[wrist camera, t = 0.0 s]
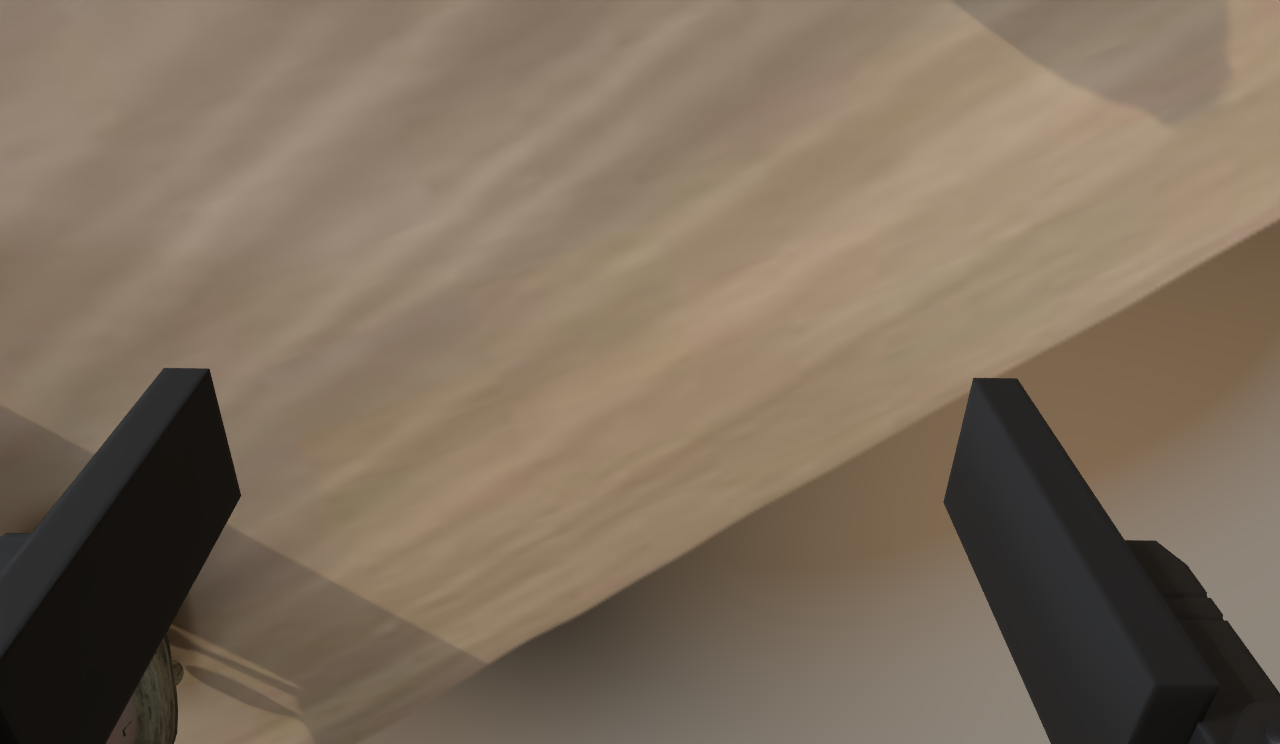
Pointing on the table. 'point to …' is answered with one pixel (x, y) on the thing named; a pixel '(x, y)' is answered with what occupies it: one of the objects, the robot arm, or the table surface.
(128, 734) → the tabletop clock
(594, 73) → the table surface
